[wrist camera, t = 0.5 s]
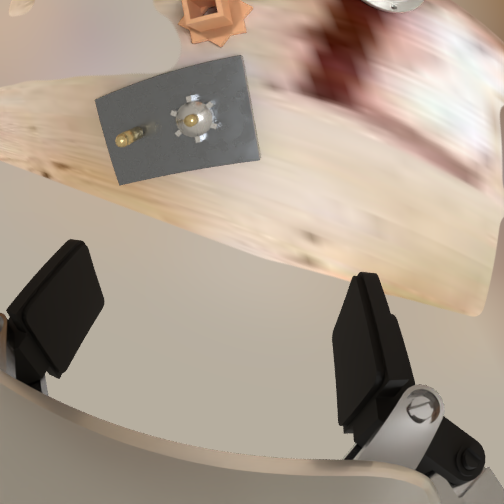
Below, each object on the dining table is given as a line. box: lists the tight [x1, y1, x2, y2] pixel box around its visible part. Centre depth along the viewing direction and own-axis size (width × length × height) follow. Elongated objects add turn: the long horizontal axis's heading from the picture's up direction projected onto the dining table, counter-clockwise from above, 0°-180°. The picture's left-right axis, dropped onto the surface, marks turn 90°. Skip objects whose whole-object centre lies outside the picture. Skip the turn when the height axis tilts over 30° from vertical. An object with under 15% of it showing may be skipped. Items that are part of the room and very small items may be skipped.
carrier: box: [95, 55, 261, 186], centre depth 35 cm, size 15×23×7 cm, turn 99°
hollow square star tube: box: [178, 0, 253, 47], centre depth 25 cm, size 10×10×7 cm
